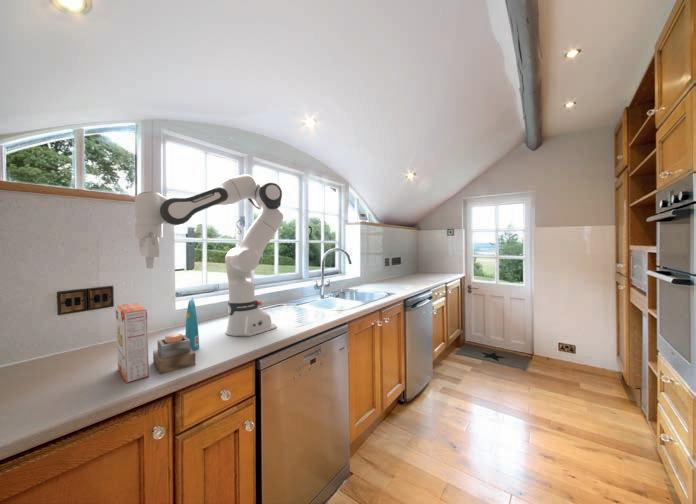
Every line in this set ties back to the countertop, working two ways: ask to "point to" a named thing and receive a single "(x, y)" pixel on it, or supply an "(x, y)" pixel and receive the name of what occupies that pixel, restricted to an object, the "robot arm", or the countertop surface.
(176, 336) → the push button
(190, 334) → the tube
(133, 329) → the cracker box
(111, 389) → the countertop surface
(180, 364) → the grey stepped open box
